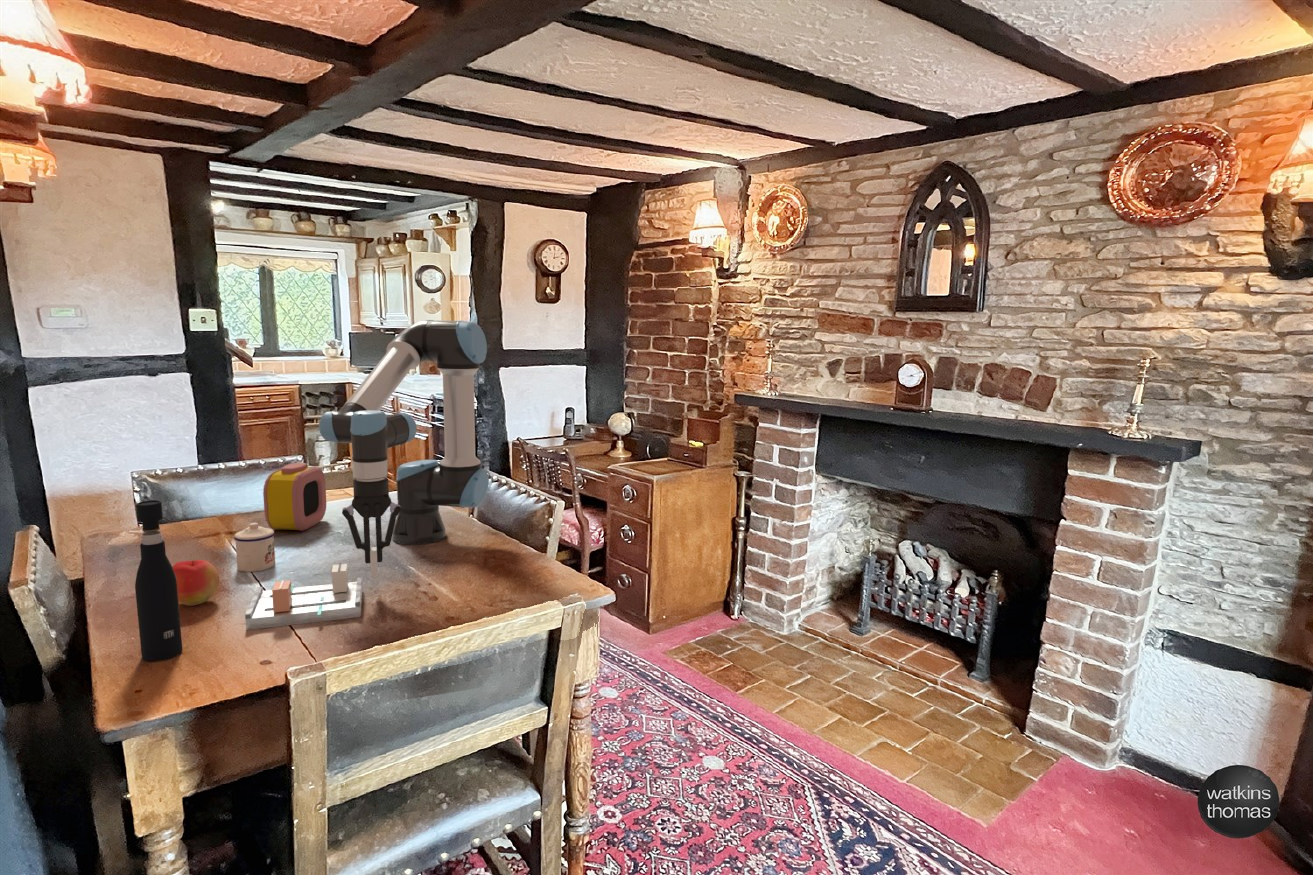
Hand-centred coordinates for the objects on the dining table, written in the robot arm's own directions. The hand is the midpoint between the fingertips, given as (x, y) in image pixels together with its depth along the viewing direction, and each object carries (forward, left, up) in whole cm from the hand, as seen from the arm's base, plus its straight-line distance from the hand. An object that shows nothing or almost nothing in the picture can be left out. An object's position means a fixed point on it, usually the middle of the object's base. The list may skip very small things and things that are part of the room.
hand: (374, 575), depth 165 cm
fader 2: (+7, 0, -2) cm, 8 cm away
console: (+14, +4, -5) cm, 15 cm away
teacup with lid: (+29, -31, -5) cm, 43 cm away
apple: (+38, -7, -5) cm, 39 cm away
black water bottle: (+38, +19, -5) cm, 43 cm away
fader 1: (+18, +8, -2) cm, 20 cm away
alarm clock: (+23, -66, -5) cm, 70 cm away
